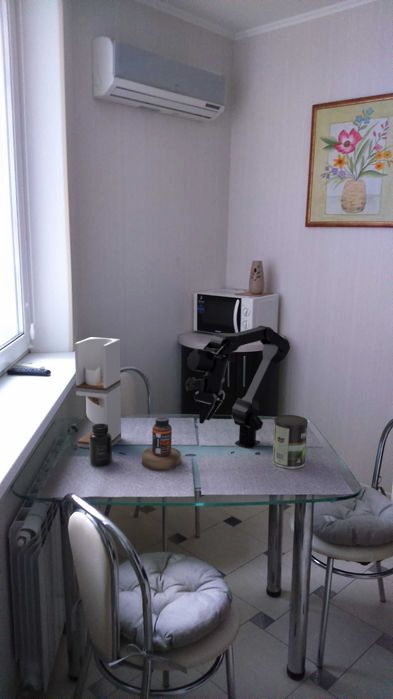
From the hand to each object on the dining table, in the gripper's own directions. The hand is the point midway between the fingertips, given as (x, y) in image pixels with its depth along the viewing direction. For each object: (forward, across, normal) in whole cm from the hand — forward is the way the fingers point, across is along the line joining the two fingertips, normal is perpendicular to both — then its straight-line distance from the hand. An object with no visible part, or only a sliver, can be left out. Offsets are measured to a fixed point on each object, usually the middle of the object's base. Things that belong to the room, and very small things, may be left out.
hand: (204, 421), depth 173 cm
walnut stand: (+15, +6, -9) cm, 18 cm away
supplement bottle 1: (+19, +11, -27) cm, 35 cm away
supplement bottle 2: (+12, +6, -10) cm, 17 cm away
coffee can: (+7, -6, +28) cm, 29 cm away
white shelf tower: (+17, -4, -34) cm, 39 cm away
